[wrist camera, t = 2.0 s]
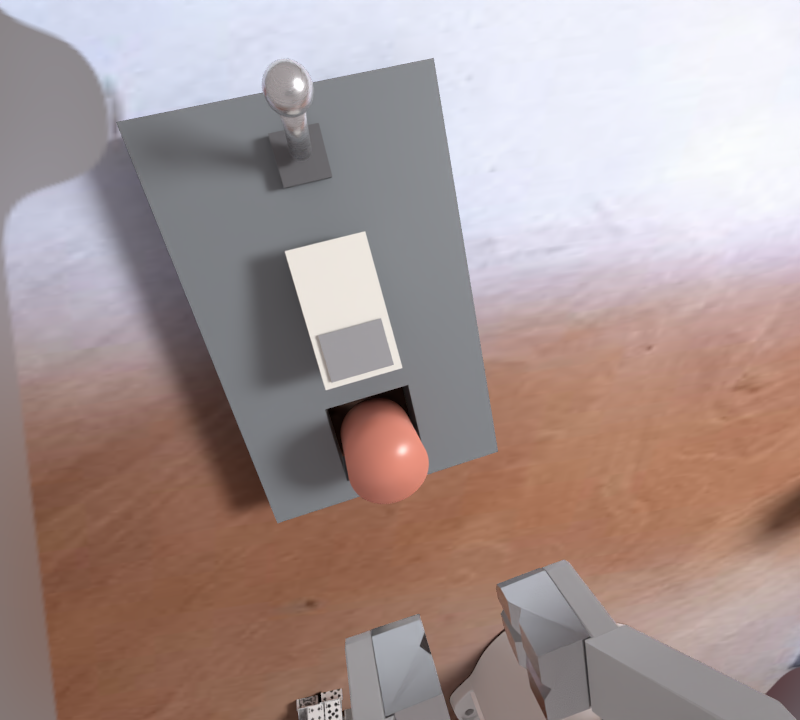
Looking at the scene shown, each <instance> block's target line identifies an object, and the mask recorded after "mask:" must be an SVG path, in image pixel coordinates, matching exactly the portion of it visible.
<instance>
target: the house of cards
mask: <svg viewBox="0 0 800 720" xmlns="http://www.w3.org/2000/svg"><path fill="white" fill-rule="evenodd" d="M341 700H343V695H342V689H337V690H333V691H329V692H324V693H321V702H320V704H319V700H318V695H315V696H311V697H306V698H302V699H297V711H298V716H299V720H353V718H352V709H347V710H344V712H345V717H342V701H341Z"/></svg>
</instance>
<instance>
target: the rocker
mask: <svg viewBox="0 0 800 720" xmlns="http://www.w3.org/2000/svg"><path fill="white" fill-rule="evenodd" d="M285 254H286V257H287V261H288V264H289V268H290V271H291V274H292V278H293V281H294V285H295V288H296V291H297V295H298V298H299V301H300V305H301V308H302V312H303V315H304V318H305V322H306V325H307V329H308V332H309V335H310V339H311V342H312V346H313V349H314V352H315V356H316V359H317V363H318V366H319V369H320V373H321V376H322V380H323V383H324V386H325V390H329V389H332V388H336V387H339V386H342V385H346V384H349V383H353V382H356V381H360V380H363V379H366V378H370V377H373V376H377V375H380V374H384V373H387V372H390V371H394V370H397V369H401V368H402V364H401V360H400V357H399V353H398V349H397V346H396V342H395V338H394V335H393V331H392V327H391V324H390V320H389V316H388V313H387V309H386V306H385V302H384V298H383V295H382V291H381V287H380V284H379V280H378V276H377V273H376V269H375V265H374V262H373V258H372V254H371V251H370V247H369V243H368V240H367V236H366V232H365V231H364V232H360V233H356V234H352V235H348V236H344V237H340V238H336V239H332V240H328V241H324V242H320V243H316V244H312V245H308V246H304V247H300V248H296V249H292V250H287V251H285Z"/></svg>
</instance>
